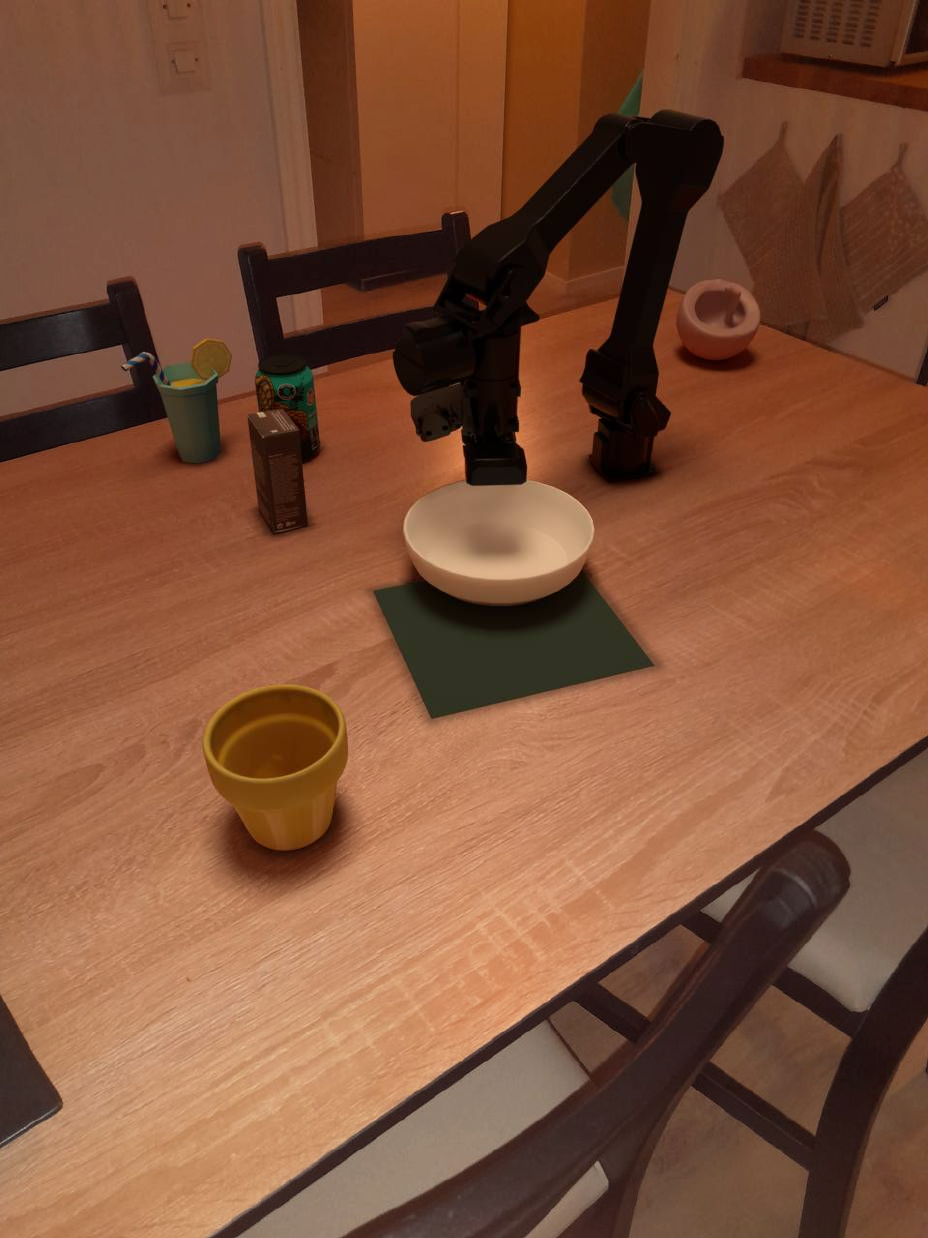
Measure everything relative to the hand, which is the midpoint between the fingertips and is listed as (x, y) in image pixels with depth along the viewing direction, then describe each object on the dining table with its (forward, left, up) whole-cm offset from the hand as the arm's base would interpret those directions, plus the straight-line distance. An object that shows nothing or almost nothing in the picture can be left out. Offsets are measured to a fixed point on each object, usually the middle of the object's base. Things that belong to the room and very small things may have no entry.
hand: (488, 496), depth 110 cm
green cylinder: (+18, -22, -3) cm, 29 cm away
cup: (+30, -25, -3) cm, 39 cm away
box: (+22, -7, -3) cm, 24 cm away
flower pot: (+30, +37, -3) cm, 48 cm away
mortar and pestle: (-48, -31, -3) cm, 57 cm away
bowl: (+3, +11, -3) cm, 12 cm away
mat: (+5, +20, -3) cm, 21 cm away
